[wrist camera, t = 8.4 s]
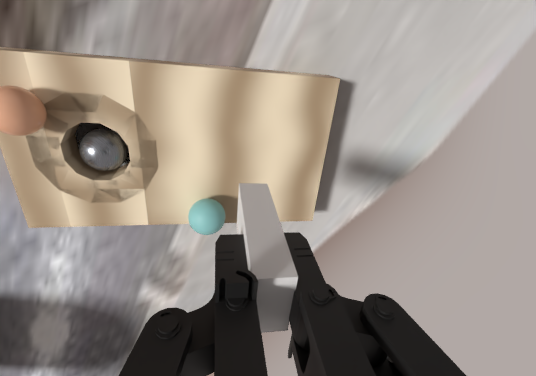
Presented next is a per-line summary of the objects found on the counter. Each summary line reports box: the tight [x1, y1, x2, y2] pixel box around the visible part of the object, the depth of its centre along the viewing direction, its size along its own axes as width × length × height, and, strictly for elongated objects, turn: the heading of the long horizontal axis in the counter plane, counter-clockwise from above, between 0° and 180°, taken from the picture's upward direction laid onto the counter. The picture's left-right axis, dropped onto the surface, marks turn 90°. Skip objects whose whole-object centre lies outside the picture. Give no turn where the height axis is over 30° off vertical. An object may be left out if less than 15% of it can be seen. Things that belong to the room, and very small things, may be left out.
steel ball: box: [79, 129, 127, 171], centre depth 22 cm, size 3×3×3 cm
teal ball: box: [188, 198, 225, 235], centre depth 23 cm, size 3×3×3 cm
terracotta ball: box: [0, 85, 47, 136], centre depth 17 cm, size 3×3×3 cm
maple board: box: [0, 47, 340, 228], centre depth 23 cm, size 24×13×2 cm, turn 85°
